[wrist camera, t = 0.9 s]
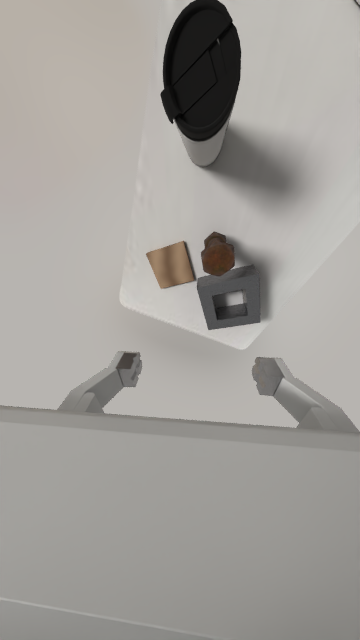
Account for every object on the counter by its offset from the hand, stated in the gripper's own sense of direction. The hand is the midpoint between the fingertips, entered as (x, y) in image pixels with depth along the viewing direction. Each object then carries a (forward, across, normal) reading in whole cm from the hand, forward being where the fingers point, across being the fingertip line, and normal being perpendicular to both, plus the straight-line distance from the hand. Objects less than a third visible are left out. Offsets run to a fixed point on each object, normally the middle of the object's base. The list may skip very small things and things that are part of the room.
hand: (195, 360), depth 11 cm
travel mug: (+32, -1, -20) cm, 38 cm away
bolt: (+34, -4, -5) cm, 34 cm away
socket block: (+35, -10, +9) cm, 37 cm away
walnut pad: (+35, +6, +1) cm, 35 cm away
